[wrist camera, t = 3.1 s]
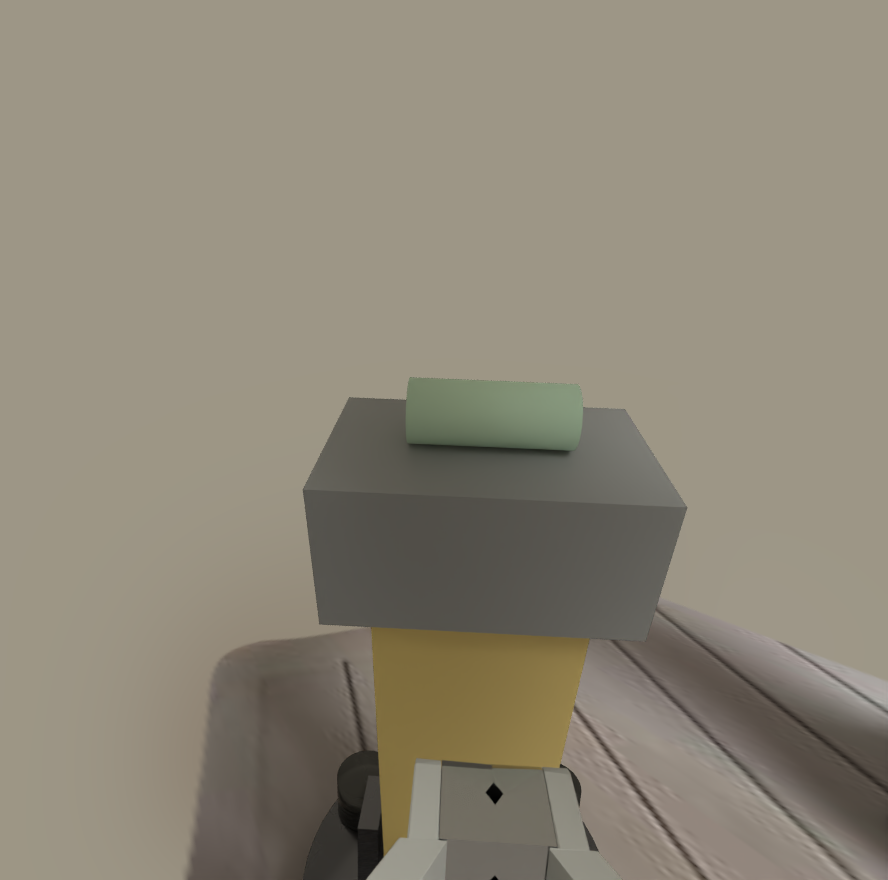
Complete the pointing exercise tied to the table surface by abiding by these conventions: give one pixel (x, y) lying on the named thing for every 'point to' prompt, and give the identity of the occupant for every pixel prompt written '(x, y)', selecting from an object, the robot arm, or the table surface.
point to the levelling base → (361, 824)
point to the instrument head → (484, 563)
